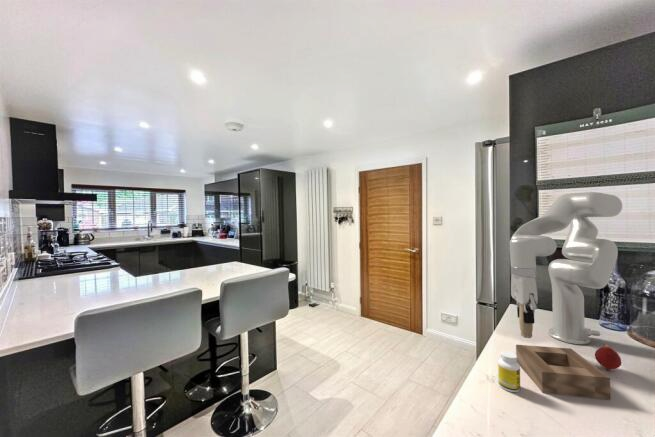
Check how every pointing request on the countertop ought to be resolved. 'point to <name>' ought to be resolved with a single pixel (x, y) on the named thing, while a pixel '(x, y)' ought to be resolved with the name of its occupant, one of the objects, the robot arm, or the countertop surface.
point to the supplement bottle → (509, 372)
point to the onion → (608, 358)
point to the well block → (562, 372)
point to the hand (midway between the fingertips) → (525, 319)
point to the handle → (524, 327)
